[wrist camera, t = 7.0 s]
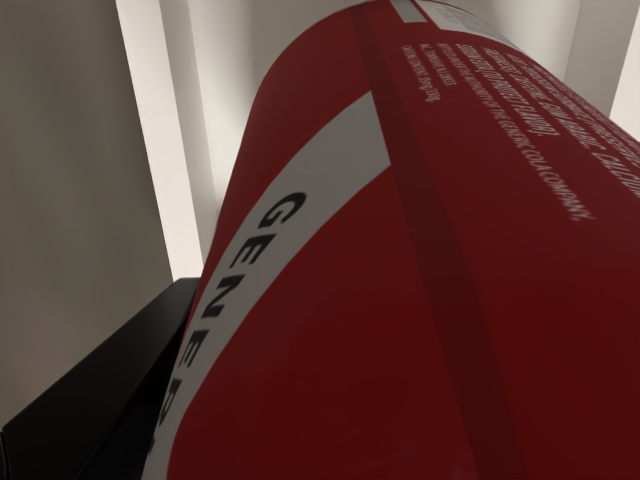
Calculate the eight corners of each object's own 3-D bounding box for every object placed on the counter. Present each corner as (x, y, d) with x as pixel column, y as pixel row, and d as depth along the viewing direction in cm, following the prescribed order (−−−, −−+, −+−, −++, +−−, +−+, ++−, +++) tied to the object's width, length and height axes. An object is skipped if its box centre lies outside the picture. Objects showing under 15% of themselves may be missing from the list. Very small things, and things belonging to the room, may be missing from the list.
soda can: (418, -86, 11) (1604, 208, 1) (577, 150, 14) (1310, 882, 4) (191, 128, 13) (-197, 873, 3) (366, 293, 16) (450, 974, 6)
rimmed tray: (539, 274, 17) (577, 340, 15) (206, 283, 18) (188, 350, 15) (635, -127, 12) (723, -130, 9) (139, -113, 12) (92, -113, 9)
